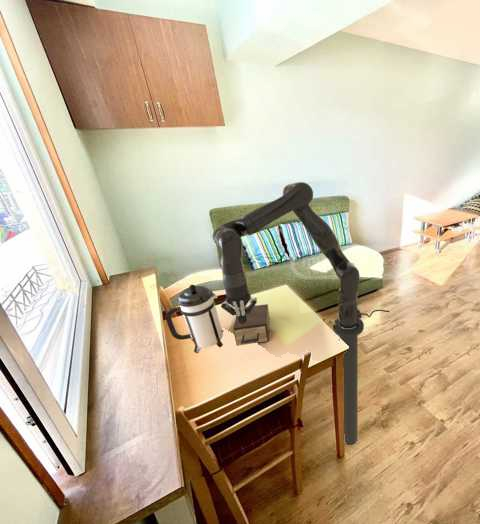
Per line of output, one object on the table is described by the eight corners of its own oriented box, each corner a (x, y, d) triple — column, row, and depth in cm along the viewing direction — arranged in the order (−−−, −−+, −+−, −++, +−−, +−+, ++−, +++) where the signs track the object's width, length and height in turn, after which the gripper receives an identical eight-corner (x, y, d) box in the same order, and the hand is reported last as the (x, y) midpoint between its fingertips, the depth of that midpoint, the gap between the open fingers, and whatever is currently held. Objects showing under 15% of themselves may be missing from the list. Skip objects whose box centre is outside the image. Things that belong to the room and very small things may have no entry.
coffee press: (211, 326, 133) (194, 271, 119) (234, 337, 126) (220, 280, 112) (176, 349, 120) (153, 291, 106) (200, 363, 113) (179, 303, 99)
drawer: (266, 348, 119) (264, 334, 116) (235, 353, 116) (232, 338, 113) (268, 321, 137) (266, 308, 134) (241, 324, 135) (239, 311, 132)
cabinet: (269, 340, 125) (266, 323, 121) (236, 345, 122) (232, 328, 118) (270, 319, 140) (267, 304, 136) (241, 323, 137) (238, 307, 133)
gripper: (255, 275, 104) (261, 314, 110) (217, 279, 101) (226, 319, 108) (253, 284, 97) (260, 325, 104) (213, 289, 94) (222, 331, 101)
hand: (243, 322), depth 106 cm, fingers closed
